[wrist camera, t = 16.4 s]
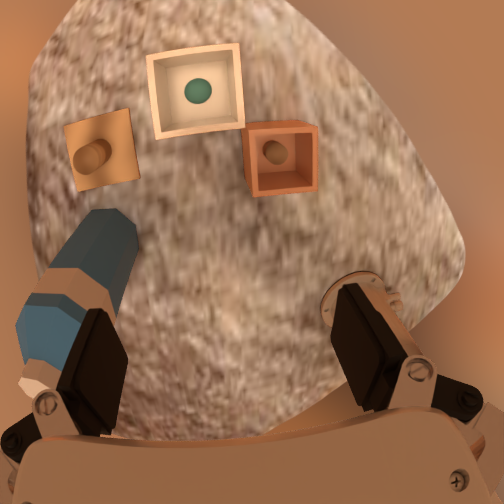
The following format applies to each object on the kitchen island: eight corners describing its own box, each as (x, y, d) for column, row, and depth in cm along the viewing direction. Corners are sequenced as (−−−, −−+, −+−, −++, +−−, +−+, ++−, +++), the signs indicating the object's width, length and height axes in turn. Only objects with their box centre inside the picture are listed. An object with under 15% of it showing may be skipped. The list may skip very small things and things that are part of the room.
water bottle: (131, 274, 40) (93, 432, 19) (75, 254, 37) (4, 397, 16) (147, 219, 36) (96, 384, 15) (85, 197, 33) (-20, 334, 12)
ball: (210, 77, 28) (210, 75, 26) (212, 101, 30) (213, 102, 27) (184, 80, 28) (181, 79, 25) (186, 105, 29) (184, 106, 27)
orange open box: (297, 120, 33) (317, 126, 27) (298, 173, 36) (317, 191, 30) (240, 123, 32) (248, 130, 26) (244, 178, 36) (253, 197, 30)
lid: (129, 107, 29) (116, 110, 24) (141, 176, 34) (130, 191, 29) (66, 125, 28) (44, 132, 23) (79, 189, 33) (62, 206, 28)
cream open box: (230, 56, 28) (239, 43, 20) (235, 119, 32) (245, 127, 24) (161, 65, 27) (145, 55, 19) (168, 128, 31) (155, 140, 23)
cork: (281, 139, 33) (287, 143, 31) (282, 158, 34) (288, 164, 32) (261, 140, 33) (266, 145, 30) (262, 159, 34) (267, 165, 32)
